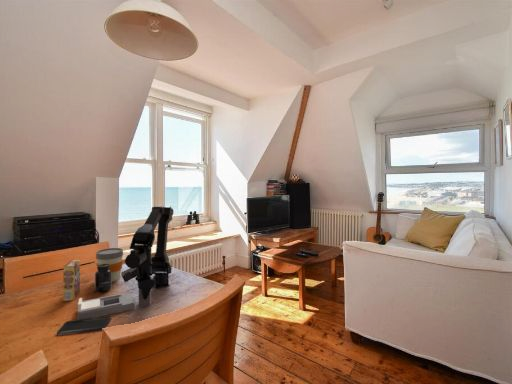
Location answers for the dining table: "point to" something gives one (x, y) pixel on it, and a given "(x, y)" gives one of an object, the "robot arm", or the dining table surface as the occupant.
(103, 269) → the supplement bottle
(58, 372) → the dining table surface
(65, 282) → the candy box
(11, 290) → the dining table surface
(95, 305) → the shutter
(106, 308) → the socket plate
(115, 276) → the reusable coffee cup
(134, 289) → the dining table surface
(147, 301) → the plug
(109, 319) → the phone
